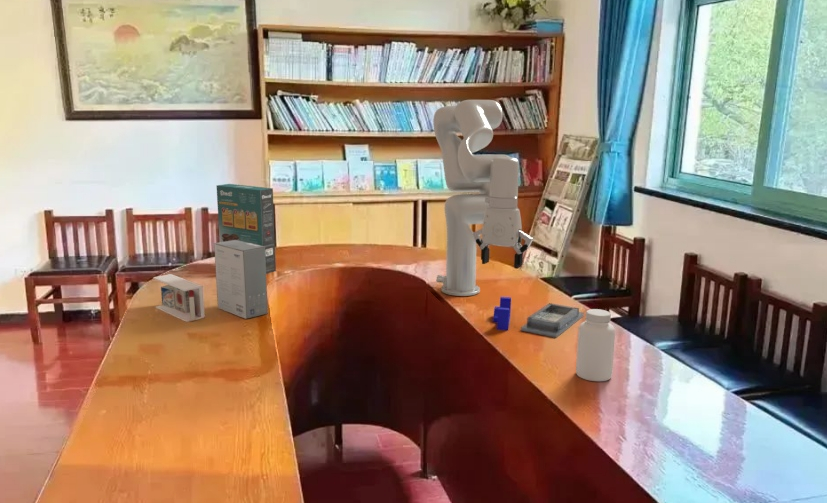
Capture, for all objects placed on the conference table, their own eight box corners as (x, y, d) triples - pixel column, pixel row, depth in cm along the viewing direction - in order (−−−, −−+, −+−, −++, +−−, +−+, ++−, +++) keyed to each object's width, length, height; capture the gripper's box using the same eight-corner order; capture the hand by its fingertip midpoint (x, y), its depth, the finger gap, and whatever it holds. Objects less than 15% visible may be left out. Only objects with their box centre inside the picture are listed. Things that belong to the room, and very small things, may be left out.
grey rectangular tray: (520, 330, 182) (521, 320, 181) (550, 310, 200) (551, 300, 199) (556, 337, 177) (556, 326, 176) (583, 316, 195) (584, 306, 194)
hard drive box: (269, 314, 194) (266, 246, 190) (246, 320, 189) (242, 250, 184) (238, 303, 204) (235, 238, 200) (216, 308, 199) (212, 242, 195)
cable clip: (494, 316, 194) (495, 296, 193) (510, 317, 194) (511, 297, 192) (491, 329, 183) (492, 308, 182) (508, 331, 182) (508, 309, 181)
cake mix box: (275, 271, 243) (272, 188, 236) (263, 274, 238) (260, 190, 231) (233, 262, 254) (229, 183, 248) (220, 266, 249) (216, 185, 243)
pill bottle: (612, 371, 155) (617, 309, 152) (610, 384, 148) (615, 319, 144) (577, 366, 157) (581, 305, 154) (573, 379, 150) (578, 315, 147)
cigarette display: (155, 307, 199) (152, 277, 197) (173, 303, 203) (170, 273, 201) (188, 323, 186) (186, 290, 184) (207, 318, 190) (205, 286, 188)
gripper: (468, 202, 182) (467, 264, 186) (527, 207, 173) (525, 272, 177) (480, 199, 188) (479, 259, 192) (538, 204, 179) (536, 266, 183)
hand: (501, 265), depth 184 cm, fingers open, 9 cm apart
